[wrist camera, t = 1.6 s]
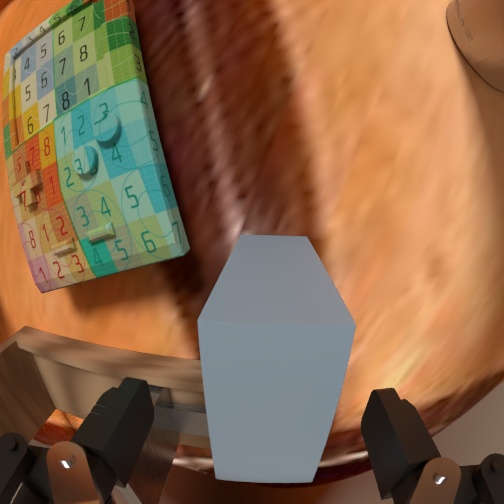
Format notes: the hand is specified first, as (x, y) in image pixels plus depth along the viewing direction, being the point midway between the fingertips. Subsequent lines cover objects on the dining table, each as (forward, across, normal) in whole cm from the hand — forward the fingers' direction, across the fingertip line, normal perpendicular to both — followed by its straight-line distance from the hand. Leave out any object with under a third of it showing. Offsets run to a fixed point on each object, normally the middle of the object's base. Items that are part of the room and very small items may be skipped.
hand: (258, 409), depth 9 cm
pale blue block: (+10, -1, 0) cm, 10 cm away
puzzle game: (+11, +12, -12) cm, 20 cm away
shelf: (+10, +10, +10) cm, 18 cm away
